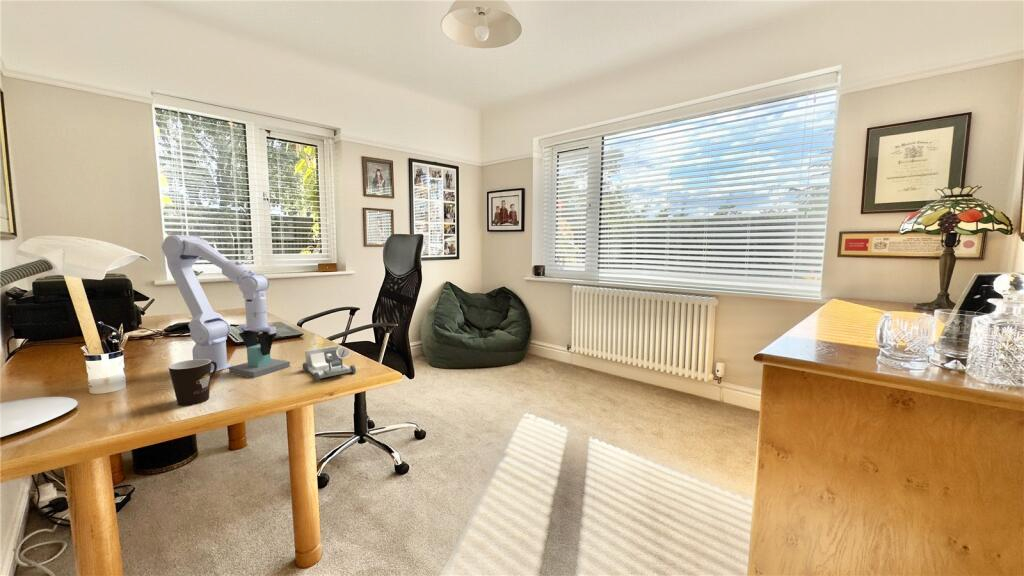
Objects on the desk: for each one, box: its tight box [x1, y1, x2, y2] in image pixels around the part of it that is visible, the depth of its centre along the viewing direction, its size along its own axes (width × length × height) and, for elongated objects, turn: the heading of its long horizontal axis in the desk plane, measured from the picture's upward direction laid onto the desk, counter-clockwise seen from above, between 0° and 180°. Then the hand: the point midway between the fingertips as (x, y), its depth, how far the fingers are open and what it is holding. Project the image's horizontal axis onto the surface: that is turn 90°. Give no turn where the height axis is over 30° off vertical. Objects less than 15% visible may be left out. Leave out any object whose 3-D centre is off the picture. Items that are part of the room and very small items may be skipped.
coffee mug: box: [168, 359, 217, 407], centre depth 104 cm, size 12×9×10 cm
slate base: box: [228, 358, 291, 379], centre depth 128 cm, size 12×12×2 cm
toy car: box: [302, 345, 357, 383], centre depth 125 cm, size 18×10×12 cm
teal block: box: [246, 343, 272, 367], centre depth 128 cm, size 4×4×6 cm
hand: (259, 353), depth 128 cm, fingers open, 6 cm apart
